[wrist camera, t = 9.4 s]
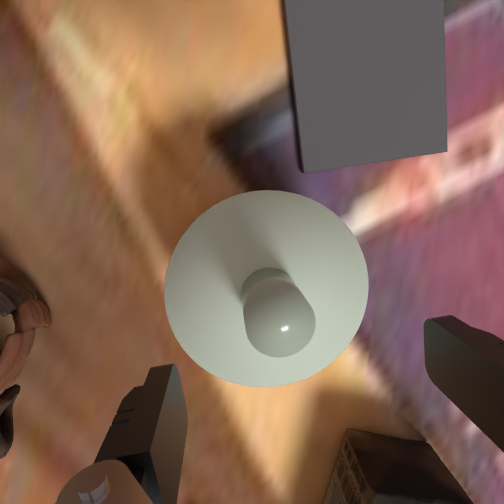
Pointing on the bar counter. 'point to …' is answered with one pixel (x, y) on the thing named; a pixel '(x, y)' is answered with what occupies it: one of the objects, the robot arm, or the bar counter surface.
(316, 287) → the lid
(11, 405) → the pottery mug
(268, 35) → the bar counter surface
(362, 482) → the beverage carton
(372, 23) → the mat
